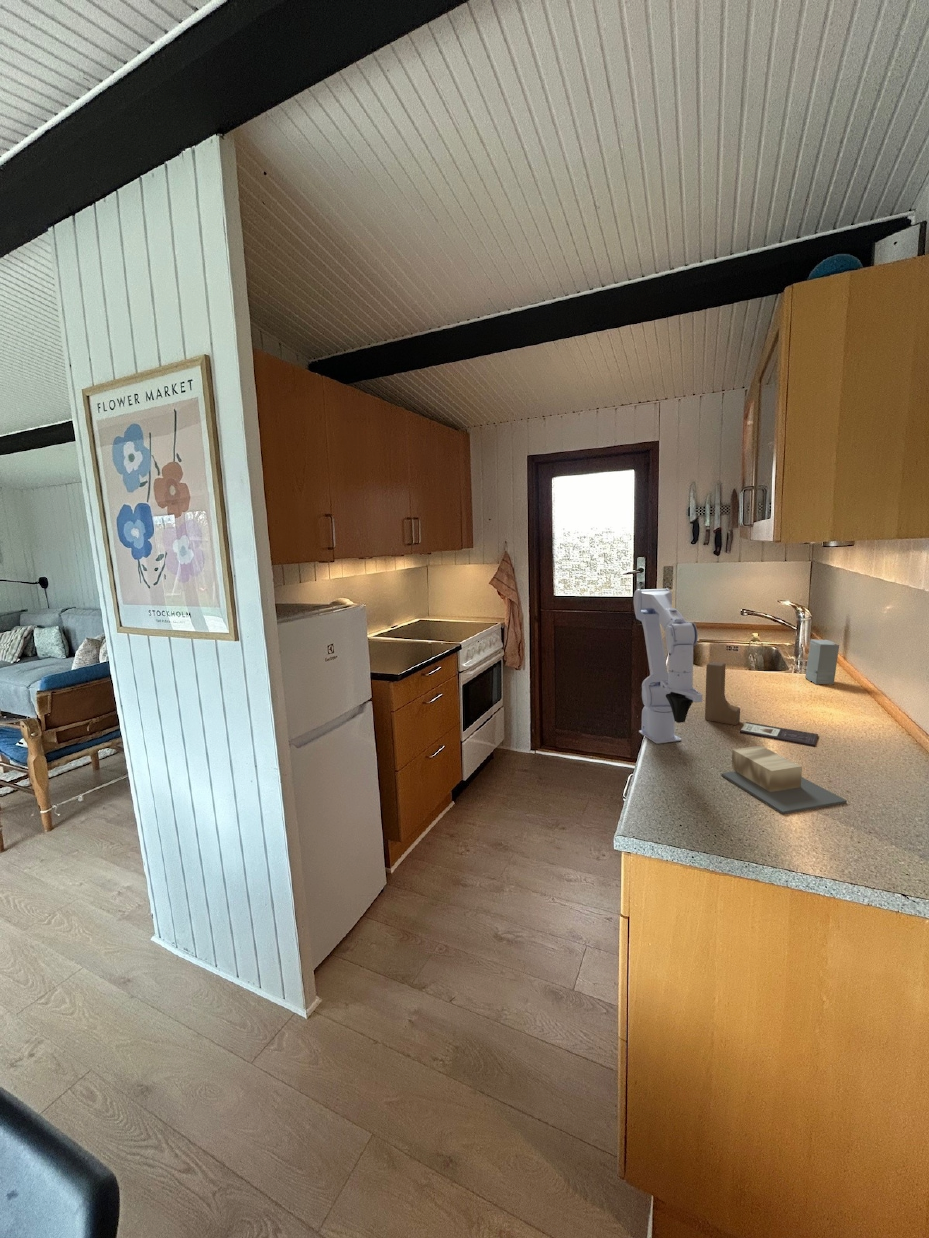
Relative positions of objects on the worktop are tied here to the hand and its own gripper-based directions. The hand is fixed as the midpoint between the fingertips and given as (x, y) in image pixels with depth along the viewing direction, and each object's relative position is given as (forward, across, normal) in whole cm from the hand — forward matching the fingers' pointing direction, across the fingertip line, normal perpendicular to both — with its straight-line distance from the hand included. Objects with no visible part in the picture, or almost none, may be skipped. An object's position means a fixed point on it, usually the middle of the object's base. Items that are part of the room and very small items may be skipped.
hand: (679, 721), depth 129 cm
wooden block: (+10, -20, +29) cm, 37 cm away
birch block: (+7, +9, +12) cm, 17 cm away
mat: (+11, +20, +12) cm, 25 cm away
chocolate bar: (+11, -7, +36) cm, 38 cm away
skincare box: (+10, -44, +90) cm, 101 cm away
